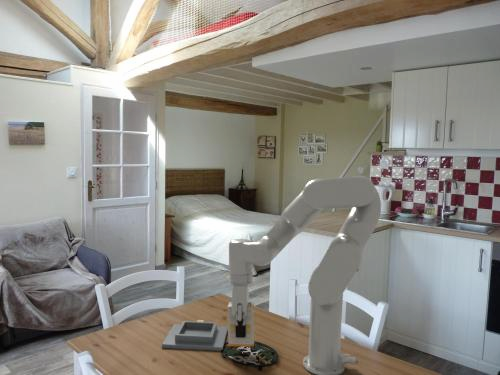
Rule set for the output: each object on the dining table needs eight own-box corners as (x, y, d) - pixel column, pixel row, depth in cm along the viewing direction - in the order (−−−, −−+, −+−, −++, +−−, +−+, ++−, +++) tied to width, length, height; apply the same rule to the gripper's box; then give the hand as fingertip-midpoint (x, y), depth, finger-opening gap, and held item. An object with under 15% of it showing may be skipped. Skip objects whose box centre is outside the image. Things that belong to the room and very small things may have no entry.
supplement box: (254, 340, 132) (254, 301, 131) (253, 347, 127) (253, 306, 127) (229, 340, 133) (229, 301, 132) (227, 346, 128) (227, 305, 127)
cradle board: (227, 329, 148) (227, 320, 148) (222, 351, 131) (222, 340, 131) (174, 327, 149) (174, 317, 149) (161, 347, 132) (162, 337, 132)
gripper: (231, 271, 138) (232, 323, 138) (226, 285, 121) (227, 344, 121) (253, 271, 137) (253, 323, 138) (251, 285, 120) (251, 345, 121)
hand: (241, 333), depth 130 cm, fingers closed on supplement box, 5 cm apart
